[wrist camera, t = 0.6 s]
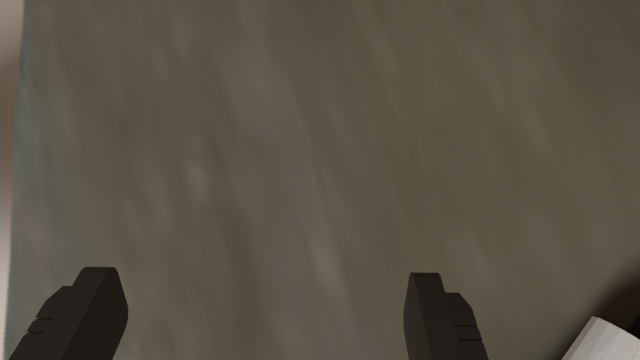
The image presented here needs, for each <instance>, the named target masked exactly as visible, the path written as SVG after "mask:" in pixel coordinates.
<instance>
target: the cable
mask: <svg viewBox="0 0 640 360" xmlns="http://www.w3.org/2000/svg"><path fill="white" fill-rule="evenodd" d="M562 360H640V312H639V314H638V315H637V317H636V318H635V320H634V321H633V322H632V324H631V325H630V327H629V328H628V329H627V331H624V330H622V329H621V328H619V327H617V326H615V325H613V324H611V323H609V322H607V321H605V320H603V319H600V318H598V317H593V316H592V317H591V319H590V320H589V321H588V323H587V324H586V326H585V327H584V328H583V330H582V331H581V333H580V334H579V335H578V337H577V338H576V340H575V341H574V343H573V344H572V345H571V347H570V348H569V350H568V351H567V352H566V354H565V355H564V357H563V358H562Z"/></svg>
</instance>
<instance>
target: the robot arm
mask: <svg viewBox="0 0 640 360" xmlns="http://www.w3.org/2000/svg"><path fill="white" fill-rule="evenodd" d="M127 320H128V305H127V301H126V298H125V295H124V291H123V288H122V285H121V282H120V278H119V275H118V272H117V270H116V269H115V268H114V267H85V268H83V269H82V270H81V272H80V273H79V275H78V277H77V278H76V280H75V282H74V283H73V285H72V286H63V287H61V288H60V289H59V290H58V291H57V292H56V293H54V294H53V295H52V296H51V297H50V298H49V299H47V300H46V301H45V303H44V305H43V306H42V308H41V309H40V311H39V313H38V314H37V316H36V317H35V321H33V322H32V324H31V325H30V327H29V328H28V330H27V334H26V335H24V336H23V338H22V339H21V341H20V343H19V344H18V346H17V347H16V349H15V351H14V352H13V354H12V355H11V357H10V359H9V360H112V359H113V357H114V354H115V352H116V349H117V347H118V345H119V342H120V340H121V338H122V335H123V333H124V331H125V328H126V325H127ZM404 333H405V339H406V345H407V351H408V356H409V360H489V359H488V356H487V353H486V350H485V347H484V344H483V343H482V338H481V335H480V332H479V329H478V328H477V323H476V320H475V317H474V314H473V311H472V308H471V307H470V305H469V304H468V303H467V302H466V301H465V300H464V298H463V297H462V296H461V295H460V294H459V293H445V291H444V287H443V284H442V280H441V277H440V275H439V273H413V272H412V273H410V276H409V282H408V289H407V295H406V301H405V307H404Z"/></svg>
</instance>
